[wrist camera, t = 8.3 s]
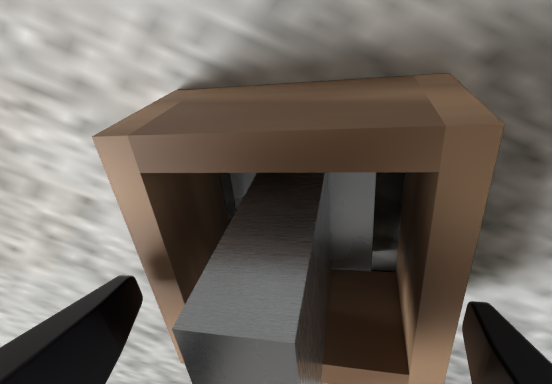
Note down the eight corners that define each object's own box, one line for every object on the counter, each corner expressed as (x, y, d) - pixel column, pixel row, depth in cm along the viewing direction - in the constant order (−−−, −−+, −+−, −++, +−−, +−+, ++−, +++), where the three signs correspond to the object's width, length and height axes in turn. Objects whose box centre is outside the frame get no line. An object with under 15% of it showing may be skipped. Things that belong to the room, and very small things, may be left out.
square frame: (418, 291, 14) (440, 398, 11) (221, 277, 17) (181, 362, 13) (449, 73, 10) (504, 124, 6) (174, 90, 12) (91, 136, 8)
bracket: (370, 251, 14) (381, 504, 7) (253, 245, 15) (167, 458, 8) (375, 136, 12) (402, 355, 5) (236, 139, 13) (91, 319, 6)
